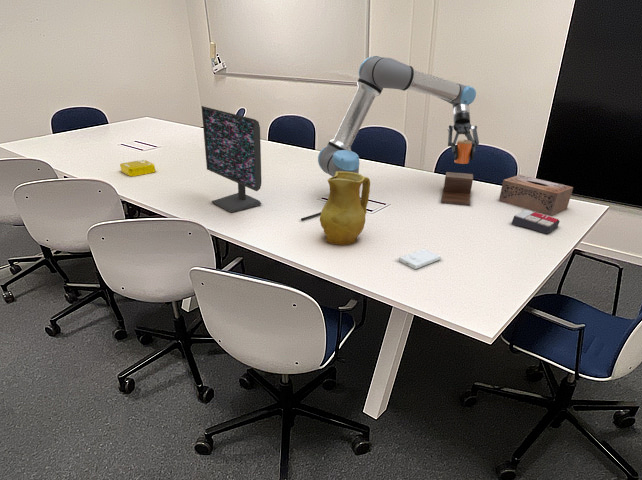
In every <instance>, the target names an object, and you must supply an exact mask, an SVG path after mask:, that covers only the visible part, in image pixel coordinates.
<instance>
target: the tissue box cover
mask: <svg viewBox="0 0 642 480" xmlns="http://www.w3.org/2000/svg"><path fill="white" fill-rule="evenodd" d="M573 191H574V187H573V186H570V185H565V184H563V183H558V182H552V181H548V180H545V179H540V178H536V177H533V176H528V175H522V174H517V175H514V176H512V177H508V178H505V179H503V180H502V184H501V189H500V193H499V198H498V202H501V203H506V204H509V205H512V206H516V207H519V208H523V209H525V210H529V211H532V212H537V213H540V214H543V215H546V216H550V217H553V216H554V215H556V214H559V213H561V212H562V211H565V210H567V209H568V207H569V203H570V201H571V197H572V194H573Z"/></svg>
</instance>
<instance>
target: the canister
mask: <svg viewBox="0 0 642 480" xmlns="http://www.w3.org/2000/svg"><path fill="white" fill-rule="evenodd" d="M456 145H457V150H458V158H457V160H455V159H454V160H453V162H454V163H455V164H460V165H467V164H469V163H470V153H471V148H472V141H470V140H468V139H457V141H456Z"/></svg>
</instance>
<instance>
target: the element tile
mask: <svg viewBox="0 0 642 480" xmlns="http://www.w3.org/2000/svg"><path fill="white" fill-rule="evenodd" d="M119 167H120V170H121V173H123V174H125V175H127V176H129V177H137V176H142V175H148V174H153V173H155V172H156V167H155V163H152V162H150V161H148V160H146V159H139V160H134V161H129V162H122V163H120V164H119Z"/></svg>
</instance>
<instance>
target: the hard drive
mask: <svg viewBox="0 0 642 480" xmlns="http://www.w3.org/2000/svg"><path fill="white" fill-rule="evenodd" d="M441 257H442V256H441V255H439V254H437V253H435V252H432V251H430V250H428V249H427V248H422V249H419V250H415V251H413V252H411V253H408V254H405V255H403V256H400V257H398V261H399V263H402V264H404V265H406V266H407V267H409V268H412V269H414V270H417V269H420V268H422V267H425V266H427V265H430V264H433V263H435V262H437V261H441Z"/></svg>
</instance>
